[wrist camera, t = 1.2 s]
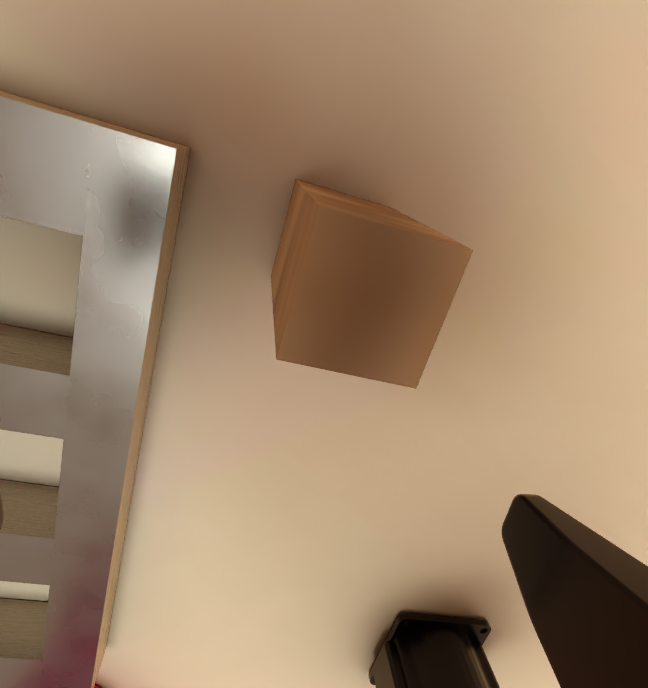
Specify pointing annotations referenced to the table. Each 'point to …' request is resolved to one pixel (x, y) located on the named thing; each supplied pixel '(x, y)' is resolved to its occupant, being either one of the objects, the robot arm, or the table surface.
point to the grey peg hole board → (80, 376)
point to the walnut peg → (360, 286)
